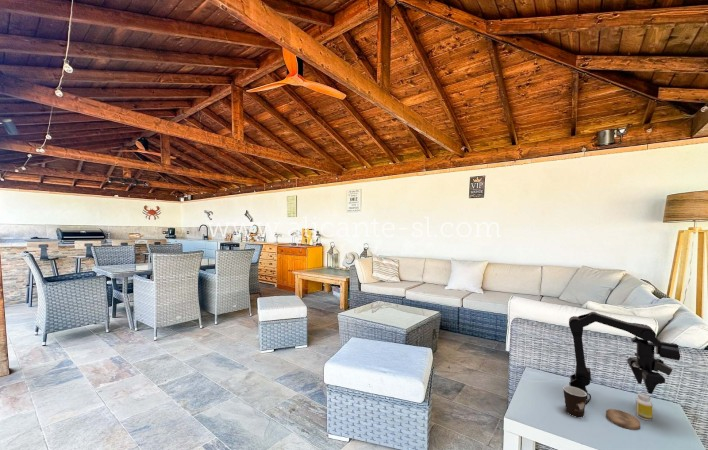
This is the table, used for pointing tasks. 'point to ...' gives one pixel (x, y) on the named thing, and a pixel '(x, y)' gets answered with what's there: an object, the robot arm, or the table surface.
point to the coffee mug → (575, 400)
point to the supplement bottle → (644, 407)
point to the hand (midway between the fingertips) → (644, 388)
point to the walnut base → (622, 419)
